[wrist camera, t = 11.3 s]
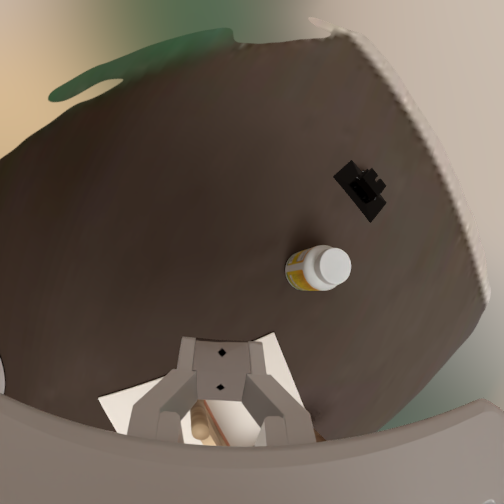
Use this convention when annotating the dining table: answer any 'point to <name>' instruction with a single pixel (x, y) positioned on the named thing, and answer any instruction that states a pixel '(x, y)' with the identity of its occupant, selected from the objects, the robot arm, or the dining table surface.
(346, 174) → the black blocky piece
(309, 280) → the supplement bottle
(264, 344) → the card
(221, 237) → the dining table surface
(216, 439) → the folding fence section
